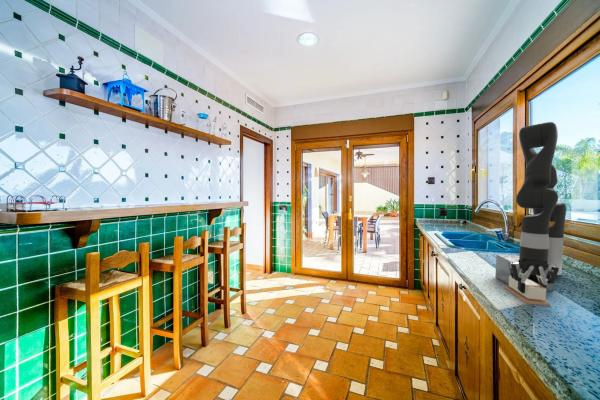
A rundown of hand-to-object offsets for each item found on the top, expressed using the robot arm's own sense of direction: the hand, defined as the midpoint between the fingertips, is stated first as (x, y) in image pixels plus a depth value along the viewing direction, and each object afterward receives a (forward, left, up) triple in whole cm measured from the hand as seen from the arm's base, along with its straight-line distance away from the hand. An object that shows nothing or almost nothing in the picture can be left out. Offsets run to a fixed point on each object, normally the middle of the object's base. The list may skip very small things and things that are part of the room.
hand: (531, 293), depth 91 cm
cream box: (-3, 0, -1) cm, 3 cm away
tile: (-3, 0, -2) cm, 4 cm away
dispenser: (-18, +6, -2) cm, 19 cm away
